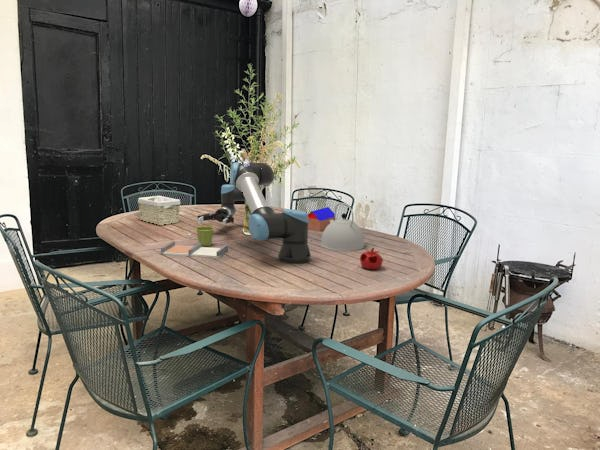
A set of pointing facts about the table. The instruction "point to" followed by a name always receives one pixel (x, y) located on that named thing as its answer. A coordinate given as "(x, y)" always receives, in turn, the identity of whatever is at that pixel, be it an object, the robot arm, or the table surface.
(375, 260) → the pomegranate
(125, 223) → the table surface
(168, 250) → the slot board
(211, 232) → the plant pot
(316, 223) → the house
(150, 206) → the storage basket
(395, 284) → the table surface
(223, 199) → the robot arm
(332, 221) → the kettle
